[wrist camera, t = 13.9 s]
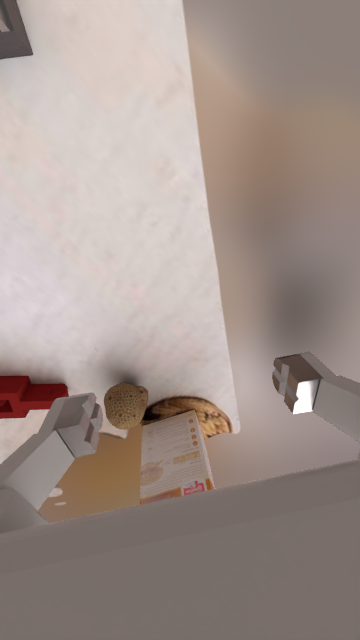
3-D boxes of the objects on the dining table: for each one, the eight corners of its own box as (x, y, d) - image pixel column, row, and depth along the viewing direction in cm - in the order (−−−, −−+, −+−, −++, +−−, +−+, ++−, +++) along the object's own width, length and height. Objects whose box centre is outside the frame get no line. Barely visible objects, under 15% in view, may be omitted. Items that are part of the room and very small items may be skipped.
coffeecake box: (151, 439, 61) (151, 531, 44) (141, 425, 58) (137, 518, 41) (201, 424, 60) (220, 510, 43) (194, 408, 57) (213, 495, 40)
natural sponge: (99, 388, 50) (88, 427, 41) (124, 365, 47) (118, 401, 39) (130, 404, 53) (126, 444, 45) (154, 384, 51) (155, 421, 42)
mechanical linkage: (-3, 399, 48) (-18, 419, 44) (-13, 375, 45) (-31, 393, 40) (73, 397, 51) (65, 416, 46) (68, 374, 47) (60, 392, 43)
